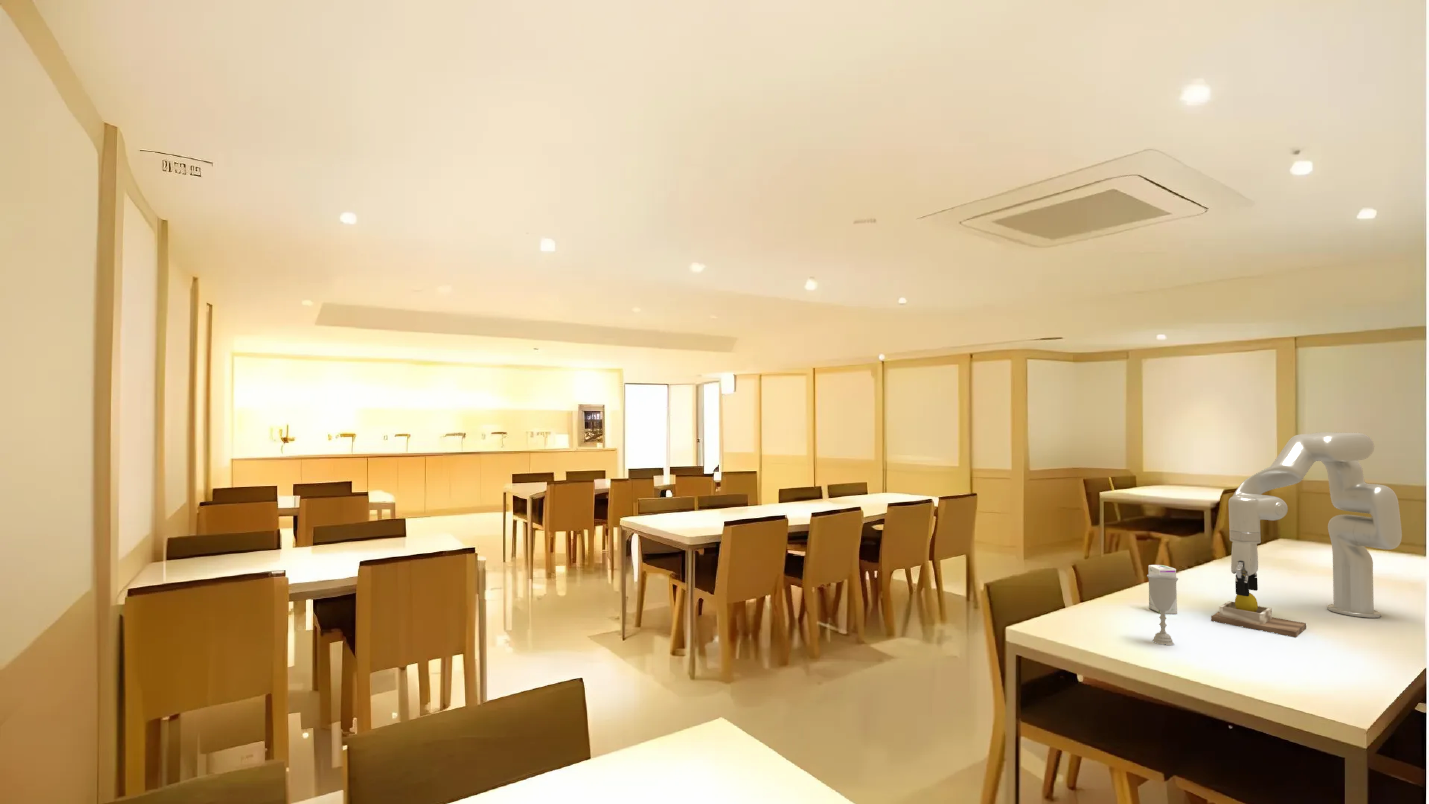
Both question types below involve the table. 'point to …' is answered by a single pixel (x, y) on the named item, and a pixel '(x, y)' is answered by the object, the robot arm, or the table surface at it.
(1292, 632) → the serving board
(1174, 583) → the chalice
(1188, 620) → the table surface
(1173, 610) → the syrup box
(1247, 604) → the lemon
